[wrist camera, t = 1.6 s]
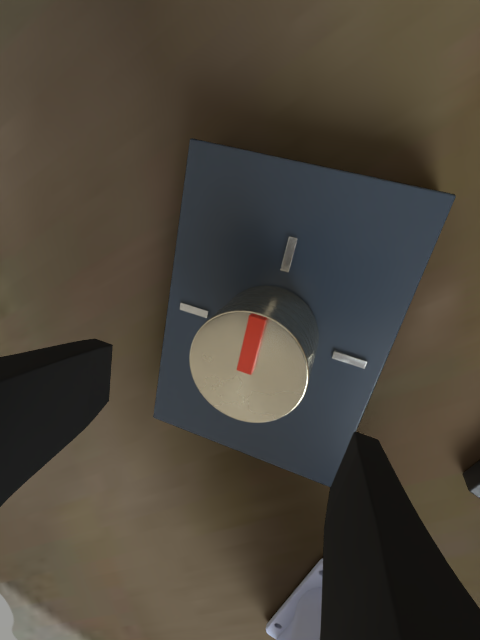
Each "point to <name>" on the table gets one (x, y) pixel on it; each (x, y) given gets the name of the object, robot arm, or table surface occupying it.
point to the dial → (256, 354)
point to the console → (295, 288)
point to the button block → (473, 479)
